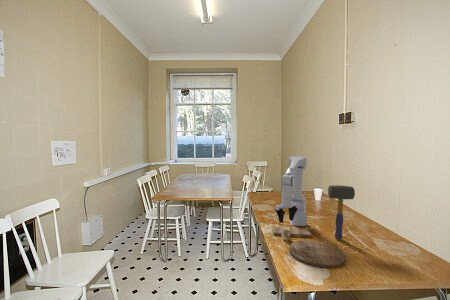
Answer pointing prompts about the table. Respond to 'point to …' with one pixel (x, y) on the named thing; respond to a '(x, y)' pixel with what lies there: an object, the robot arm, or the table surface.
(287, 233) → the beige block with handle
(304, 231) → the board
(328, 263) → the trivet
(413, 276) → the table surface
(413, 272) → the table surface
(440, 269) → the table surface
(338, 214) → the rubber mallet
